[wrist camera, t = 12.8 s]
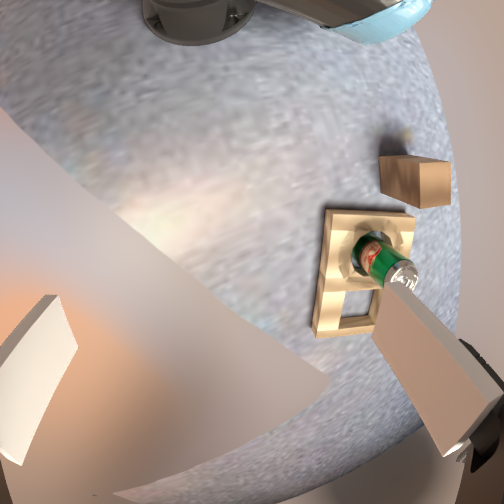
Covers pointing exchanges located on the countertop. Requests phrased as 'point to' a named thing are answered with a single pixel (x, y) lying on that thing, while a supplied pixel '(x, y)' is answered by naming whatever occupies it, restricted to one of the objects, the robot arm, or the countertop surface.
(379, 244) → the soda can
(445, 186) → the walnut square peg
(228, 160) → the countertop surface
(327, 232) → the socket board
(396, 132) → the countertop surface
